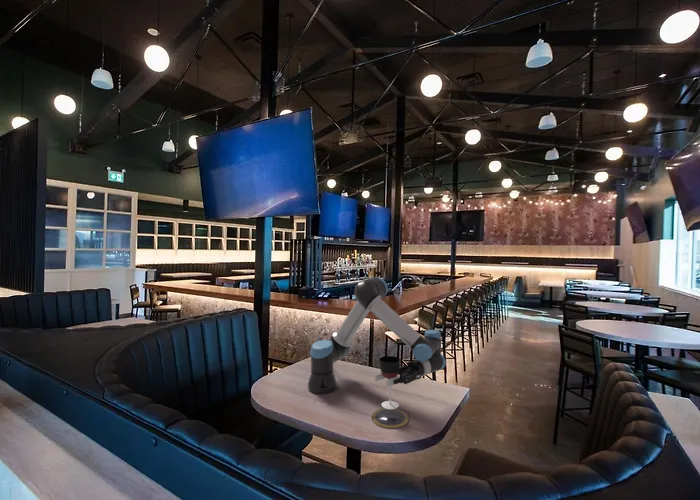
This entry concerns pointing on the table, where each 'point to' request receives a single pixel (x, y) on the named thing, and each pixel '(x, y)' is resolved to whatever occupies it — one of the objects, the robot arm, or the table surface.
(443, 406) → the table surface
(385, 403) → the wineglass
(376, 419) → the coaster
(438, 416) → the table surface
